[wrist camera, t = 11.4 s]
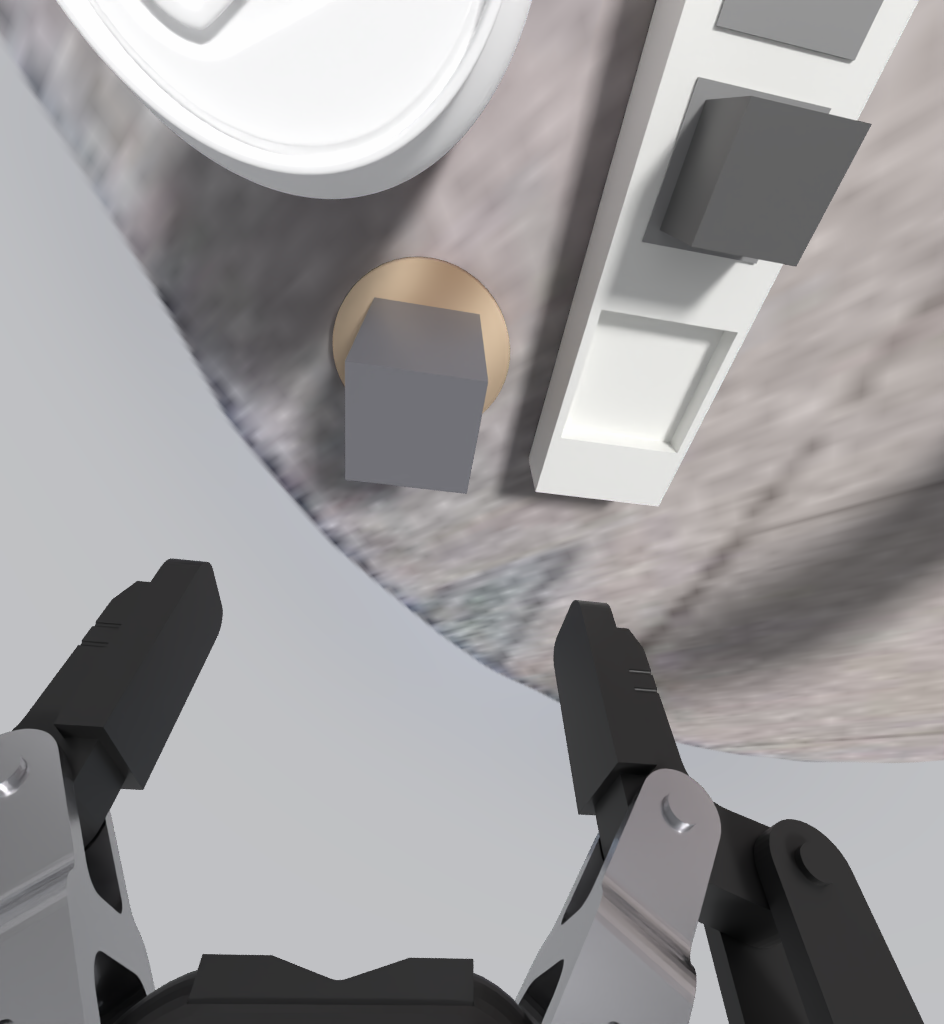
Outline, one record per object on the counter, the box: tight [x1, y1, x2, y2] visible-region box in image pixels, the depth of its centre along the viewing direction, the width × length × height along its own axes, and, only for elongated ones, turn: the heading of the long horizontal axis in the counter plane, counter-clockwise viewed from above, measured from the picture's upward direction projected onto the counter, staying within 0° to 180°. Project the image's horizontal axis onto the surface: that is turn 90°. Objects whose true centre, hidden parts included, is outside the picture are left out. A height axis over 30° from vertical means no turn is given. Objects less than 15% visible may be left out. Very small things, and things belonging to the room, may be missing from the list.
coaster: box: [332, 257, 510, 413], centre depth 22 cm, size 8×8×1 cm
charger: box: [345, 297, 488, 494], centre depth 19 cm, size 4×5×7 cm
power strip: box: [528, 0, 919, 506], centre depth 16 cm, size 6×26×6 cm, turn 171°
